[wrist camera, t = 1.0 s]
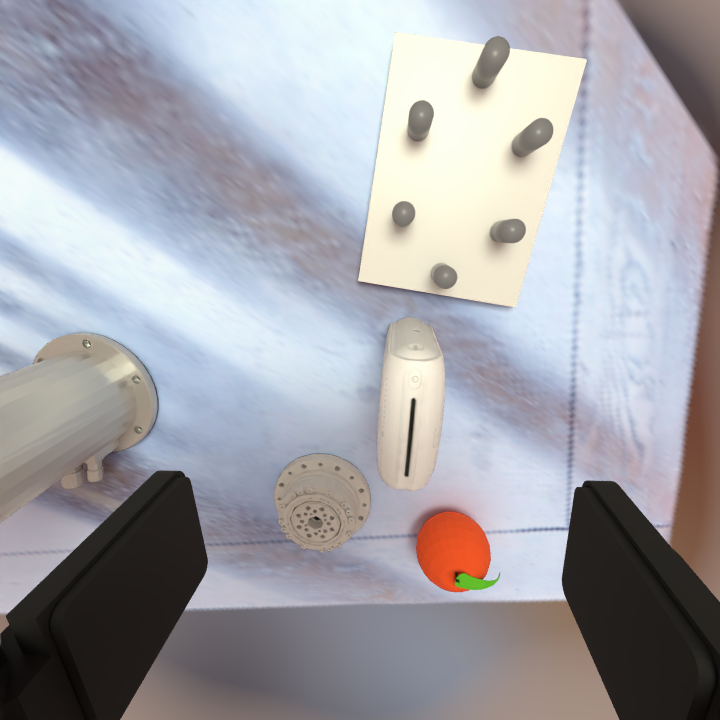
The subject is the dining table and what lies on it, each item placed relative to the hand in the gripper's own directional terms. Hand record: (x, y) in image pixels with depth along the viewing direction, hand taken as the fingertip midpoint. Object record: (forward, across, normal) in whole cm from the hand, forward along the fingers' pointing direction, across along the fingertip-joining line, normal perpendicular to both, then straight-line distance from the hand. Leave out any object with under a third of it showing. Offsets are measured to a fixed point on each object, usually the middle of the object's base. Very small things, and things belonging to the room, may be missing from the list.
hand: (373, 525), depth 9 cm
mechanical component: (+26, +8, +19) cm, 33 cm away
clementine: (+26, -6, +23) cm, 35 cm away
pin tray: (+26, -5, -10) cm, 28 cm away
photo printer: (+26, -1, +5) cm, 27 cm away
